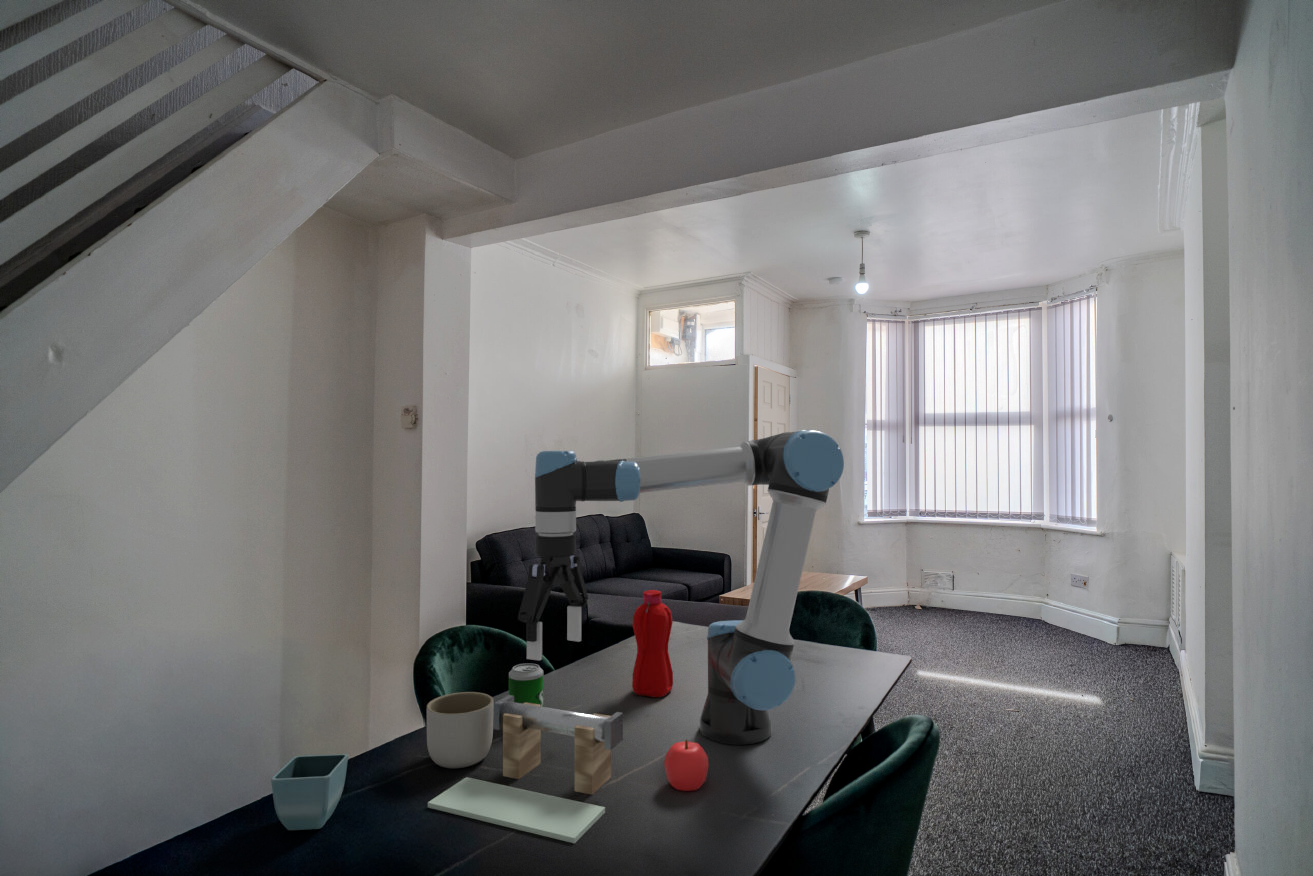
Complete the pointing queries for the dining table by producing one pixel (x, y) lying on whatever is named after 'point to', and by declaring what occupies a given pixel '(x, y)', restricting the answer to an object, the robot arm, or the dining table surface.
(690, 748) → the apple
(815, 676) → the dining table surface
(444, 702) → the planter
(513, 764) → the post far
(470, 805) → the board
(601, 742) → the post near
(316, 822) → the flower pot
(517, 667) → the soda can
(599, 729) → the rail
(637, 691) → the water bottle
